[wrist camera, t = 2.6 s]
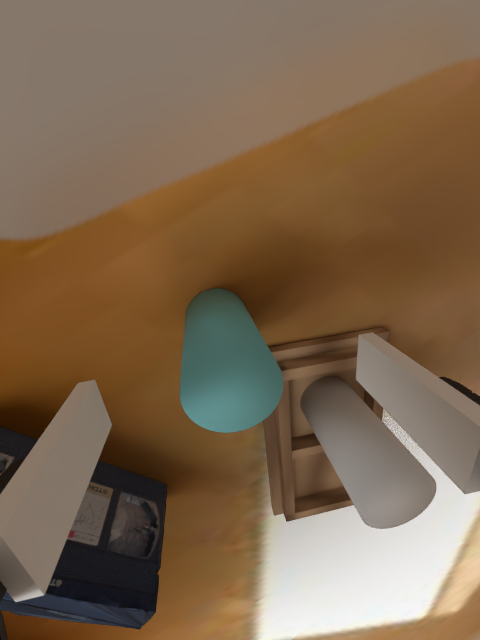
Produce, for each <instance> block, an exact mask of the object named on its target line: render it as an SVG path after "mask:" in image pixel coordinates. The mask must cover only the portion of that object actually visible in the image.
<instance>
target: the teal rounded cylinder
mask: <svg viewBox="0 0 480 640" xmlns="http://www.w3.org/2000/svg"><path fill="white" fill-rule="evenodd" d="M282 392H283V376H282V372H281V370H280V368H279V366H278V364H277V362H276V360H275V358H274V357H273V355H272V353H271V351H270V350H269V348H268V346H267V344H266V342H265V341H264V339H263V337H262V335H261V334H260V332H259V330H258V328H257V327H256V325H255V323H254V321H253V319H252V318H251V316H250V314H249V312H248V311H247V309H246V307H245V305H244V304H243V302H242V300H241V299H240V298H239V297H238V296H237V295H236V294H234V293H233V292H231V291H229V290H225V289H220V288H214V289H208V290H205V291H203V292H201V293H199V294H198V295H197V296H195V297H194V298H193V299H192V301H191V302H190V304H189V305H188V308H187V311H186V317H185V330H184V342H183V355H182V368H181V380H180V401H181V404H182V407H183V409H184V411H185V413H186V414H187V415H188V417H189V418H190V419H191V420H192V421H193V422H195V423H196V424H197V425H199V426H201V427H203V428H205V429H208V430H211V431H215V432H223V433H229V432H238V431H242V430H246V429H248V428H251V427H253V426H255V425H257V424H259V423H260V422H262V421H263V420H264V419H266V418H267V417H268V416H269V415H270V414H271V413H272V412H273V411H274V409H275V408H276V406H277V405H278V403H279V401H280V399H281V396H282Z"/></svg>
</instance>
